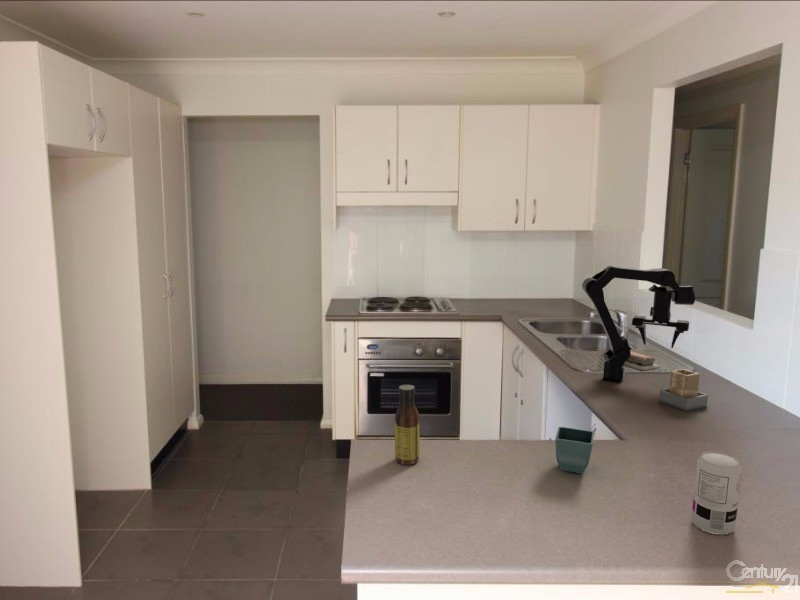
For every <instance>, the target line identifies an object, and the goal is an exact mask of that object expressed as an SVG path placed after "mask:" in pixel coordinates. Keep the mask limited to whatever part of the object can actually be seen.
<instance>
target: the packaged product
mask: <svg viewBox="0 0 800 600" xmlns="http://www.w3.org/2000/svg"><path fill="white" fill-rule="evenodd" d="M630 352H631V355H630V357H629V358H628V359H627V360H626V361H625V363H624V365H623V366H628V367H630V368H634V369H637V370H640V371H649V370H654V369H659V368H661V365H660V364H657V363H654V362H655V358H654V357H652V356H649V355H645V354H643V353H638V352H635V351H632V350H630Z"/></svg>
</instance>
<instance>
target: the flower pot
mask: <svg viewBox="0 0 800 600" xmlns="http://www.w3.org/2000/svg"><path fill="white" fill-rule="evenodd" d="M594 434H595V432H594V431H593V430H587V429H580V428H579V429H578V428H574V427H573V428H572V427H566V426H565V427H563V426H558V428H557V431H556V435H555V440H554V441H555V458H556V463H557V465H558V467H559V469H560V470H561V471H565V472H570V473H575V472H576V474H583V473H584V472H585V471H586V469H587V468H588V465H589V463H590V460H591V455H592V452H593V451H592V450H593V445H594Z"/></svg>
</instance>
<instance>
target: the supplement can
mask: <svg viewBox="0 0 800 600" xmlns="http://www.w3.org/2000/svg"><path fill="white" fill-rule="evenodd" d="M742 471H743V469H742V467H741V464H740V460H738V459H737V458H736V457H735V456H732V455H731V454H727V453H724V452H719V451H706V452H703V453H702V454H701V455H700V456H699V458H698V459H697V462H696V470H695V478H694V487H693V488H694V491H693V499H692V507H691V508H692V510H691V522H692V523H693V524H694V525H695V527H696V526H698V527H699V528H701V529H704V530H706V531H709V532H713V533H719V534H726V533H729V534H731V533H733V532H734V531H735V530H736V523H737V514H738V507H739V500H740V499H739V497H740V489H741V481H742V474H743V473H742ZM698 527H697V528H698ZM699 528H698V529H699Z"/></svg>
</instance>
